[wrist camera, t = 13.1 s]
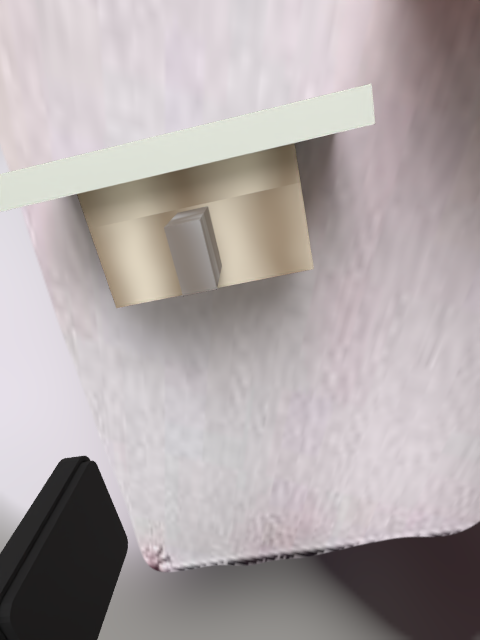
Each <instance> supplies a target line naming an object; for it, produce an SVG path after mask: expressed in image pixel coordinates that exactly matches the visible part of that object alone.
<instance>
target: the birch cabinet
mask: <svg viewBox="0 0 480 640" xmlns="http://www.w3.org/2000/svg"><path fill="white" fill-rule="evenodd" d="M77 196H78V199H79V201H80V204H81V207H82V210H83V213H84V216H85V219H86V222H87V225H88V227H89V230H90V233H91V236H92V239H93V242H94V245H95V248H96V250H97V253H98V256H99V259H100V262H101V265H102V268H103V271H104V273H105V276H106V279H107V282H108V285H109V288H110V291H111V294H112V296H113V299H114V302H115V305H116V308H120V307H125V306H130V305H135V304H140V303H145V302H150V301H155V300H160V299H165V298H170V297H175V296H180V295H183V296H187V295H192V294H197V293H202V292H207V291H212V290H217V288H221V287H226V286H231V285H236V284H241V283H246V282H251V281H256V280H261V279H266V278H271V277H276V276H281V275H286V274H291V273H296V272H301V271H306V270H311V269H314V267H313V260H312V254H311V247H310V241H309V234H308V228H307V221H306V215H305V208H304V202H303V195H302V189H301V182H300V176H299V169H298V163H297V156H296V150H295V144H294V143H292V144H288V145H284V146H279V147H275V148H271V149H266V150H262V151H258V152H254V153H249V154H245V155H241V156H237V157H232V158H228V159H224V160H220V161H215V162H211V163H207V164H202V165H198V166H194V167H190V168H185V169H181V170H177V171H173V172H168V173H164V174H160V175H156V176H151V177H147V178H143V179H138V180H134V181H130V182H126V183H121V184H117V185H113V186H109V187H104V188H100V189H96V190H92V191H87V192H83V193H79V194H77Z"/></svg>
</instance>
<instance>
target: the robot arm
mask: <svg viewBox="0 0 480 640" xmlns="http://www.w3.org/2000/svg"><path fill="white" fill-rule="evenodd" d="M127 549H128V540H127V536H126V534H125V531H124V529H123V526H122V524H121V521H120V519H119V517H118V514H117V512H116V509H115V507H114V505H113V502H112V500H111V498H110V495H109V493H108V490H107V488H106V485H105V483H104V481H103V478H102V476H101V473H100V471H99V469H98V466H97V464H96V463H95V462H94V461H90V459H89V458H88V457H87V456H79V457H72V458H65V459H62V460H61V461H60V462H59V463H58V465H57V466H56V468H55V470H54V471H53V473H52V474H51V476H50V477H49V479H48V480H47V482H46V484H45V485H44V487H43V488H42V490H41V492H40V493H39V494H38V496H37V498H36V499H35V501H34V502H33V504H32V505H31V507H30V509H29V510H28V512H27V513H26V515H25V516H24V518H23V519H22V521H21V522H20V524H19V526H18V527H17V529H16V530H15V532H14V533H13V535H12V537H11V538H10V540H9V541H8V543H7V544H6V546H5V547H4V549H3V551H2V552H1V554H0V640H97V639H98V636H99V633H100V630H101V627H102V624H103V621H104V618H105V615H106V612H107V609H108V606H109V603H110V600H111V597H112V595H113V591H114V588H115V586H116V583H117V580H118V577H119V574H120V571H121V568H122V565H123V562H124V559H125V556H126V553H127Z"/></svg>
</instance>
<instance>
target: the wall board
mask: <svg viewBox="0 0 480 640" xmlns="http://www.w3.org/2000/svg"><path fill="white" fill-rule="evenodd" d="M373 124H375V117H374V106H373V95H372V84H368V85H364V86H360V87H356V88H352V89H347V90H343V91H339V92H335V93H331V94H327V95H323V96H319V97H315V98H311V99H306V100H302V101H298V102H294V103H290V104H286V105H282V106H278V107H274V108H270V109H265V110H261V111H257V112H253V113H249V114H245V115H241V116H237V117H233V118H229V119H224V120H220V121H216V122H212V123H208V124H204V125H200V126H196V127H192V128H188V129H184V130H179V131H175V132H171V133H167V134H163V135H159V136H155V137H151V138H147V139H143V140H138V141H134V142H130V143H126V144H122V145H118V146H114V147H110V148H106V149H102V150H97V151H93V152H89V153H85V154H81V155H77V156H73V157H69V158H65V159H61V160H56V161H52V162H48V163H44V164H40V165H36V166H32V167H28V168H24V169H20V170H15V171H11V172H8V173H3V174H0V212H2V211H6V210H11V209H15V208H19V207H23V206H28V205H32V204H36V203H40V202H45V201H49V200H53V199H57V198H62V197H66V196H70V195H75V194H79V193H83V192H87V191H92V190H96V189H100V188H104V187H109V186H113V185H117V184H121V183H126V182H130V181H134V180H138V179H143V178H147V177H151V176H156V175H160V174H164V173H168V172H173V171H177V170H181V169H185V168H190V167H194V166H198V165H202V164H207V163H211V162H215V161H220V160H224V159H228V158H232V157H237V156H241V155H245V154H249V153H254V152H258V151H262V150H266V149H271V148H275V147H279V146H284V145H288V144H292V143H296V142H301V141H305V140H309V139H313V138H318V137H322V136H326V135H330V134H335V133H339V132H343V131H348V130H352V129H356V128H360V127H365V126H369V125H373Z"/></svg>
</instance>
